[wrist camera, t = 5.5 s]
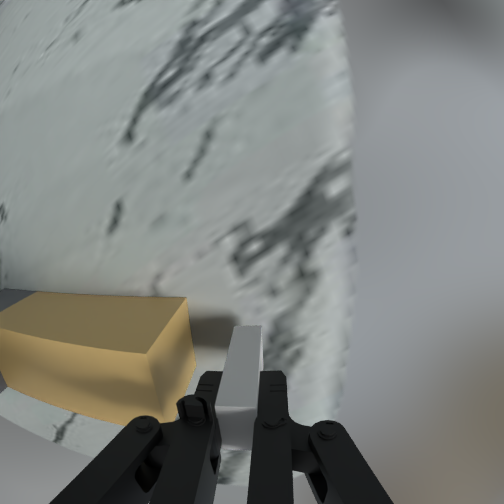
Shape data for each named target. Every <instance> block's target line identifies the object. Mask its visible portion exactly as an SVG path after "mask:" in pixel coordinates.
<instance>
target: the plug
mask: <svg viewBox="0 0 504 504" xmlns="http://www.w3.org/2000/svg"><path fill="white" fill-rule="evenodd" d="M195 367H196V361H195V355H194V349H193V342H192V335H191V328H190V321H189V314H188V306H187V298H183V297H134V296H107V295H86V294H68V293H53V292H39V291H27V290H15V289H3V290H1V291H0V393H1V392H2V391H3V390H4V389H6V388H7V387H10V388H12V389H14V390H16V391H19V392H21V393H23V394H26V395H28V396H30V397H33V398H35V399H38V400H40V401H43V402H46V403H48V404H51V405H54V406H57V407H60V408H62V409H65V410H68V411H72V412H75V413H78V414H81V415H85V416H88V417H92V418H95V419H99V420H103V421H107V422H111V423H115V424H119V425H123V426H126V425H127V424H128V423H129V422H130V421H131V420H132V419H134V418H135V417H138V416H143V415H148V416H153V417H154V418H156V419H157V420H158V421H159V423H166V422H173V421H174V420H175V418H176V415H177V413H178V410H177V406H176V403H177V401H178V400H179V399H181V398H182V397H184V395H185V393H186V390H187V388H188V385H189V383H190V380H191V378H192V375H193V372H194V370H195Z"/></svg>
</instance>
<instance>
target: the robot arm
mask: <svg viewBox="0 0 504 504" xmlns="http://www.w3.org/2000/svg"><path fill="white" fill-rule="evenodd" d="M176 406H177V410H178V413H179V417H180V419H179V420H177V421H173V422H166V423H159V421H158V420H157V419H156V418H154V417H153V416H148V415H143V416H138V417H135V418H134V419H132V420H131V421H130V422H129V423H128V424H127V425H126V426H125V427H124V428H123V429H122V430H121V431H120V432H119V434H118V435H117V436H116V437H115V438H114V439H113V440H112V441H111V442H110V443H109V444H108V445H107V446H106V447H105V448H104V449H103V450H102V451H101V452H100V453H99V454H98V455H97V456H96V457H95V458H94V460H92V461H91V462H90V463H89V464H88V466H86V467H85V468H84V469H83V470H82V472H80V473H79V475H78V476H76V478H75V479H73V480H72V481H71V482H70V483H69V485H67V486H66V488H65V489H63V490H62V491H61V492H60V493H59V494H58V495H57V496H56V497H55V498H54V499H53V500H52V501H51V502H50V503H49V504H148V503H149V504H213V501H214V496H215V490H216V485H217V479H218V474H219V468H220V463H221V454H220V448H221V444H222V449H226V450H252V454H251V465H250V476H249V487H248V497H247V504H294V499H293V473H292V470H293V471H298V472H303V473H305V476H306V478H307V480H308V483H309V485H310V487H311V489H312V492H313V494H314V496H315V499H316V501H317V503H318V504H394V503H393V502H392V500H391V499H390V497H389V496H388V494H387V493H386V491H385V490H384V488H383V487H382V485H381V484H380V482H379V481H378V479H377V478H376V476H375V474H374V473H373V471H372V470H371V468H370V467H369V466H368V464H367V462H366V461H365V459H364V458H363V456H362V455H361V453H360V451H359V450H358V448H357V447H356V445H355V444H354V442H353V440H352V439H351V437H350V436H349V434H348V433H347V431H346V430H345V428H344V427H343V426H342V425H341V424H340V423H337V422H336V421H331V420H325V421H320V422H317V423H315V424H314V425H313V426H312V427H310V426H304V425H300V424H298V423H296V422H294V421H293V420H292V419H291V418H290V416H289V413H288V398H287V382H286V376H285V375H284V374H283V372H282V371H263V349H262V326H234V330H233V334H232V338H231V342H230V346H229V350H228V354H227V358H226V362H225V366H224V370H223V371H206V372H205V373H204V374H203V375H202V376H201V377H200V380H199V382H198V385H197V388H196V391H195V394H194V395H187V396H184V397H182V398H181V399H179V400H178V401H177V403H176ZM149 501H150V502H149Z"/></svg>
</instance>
